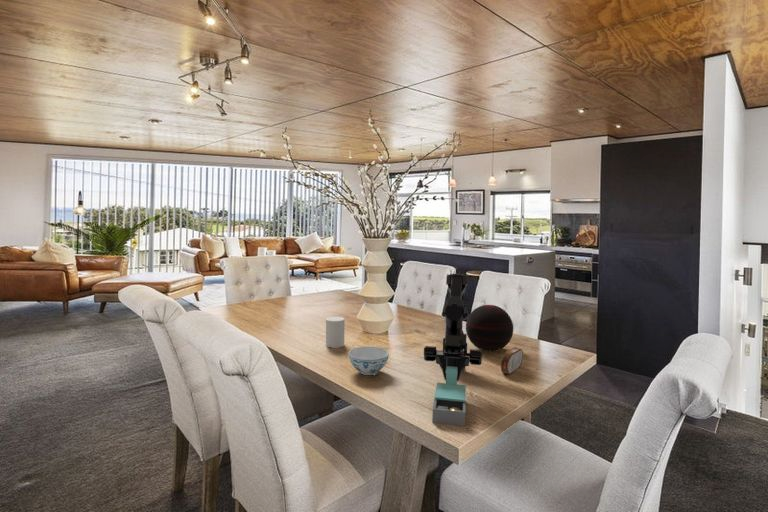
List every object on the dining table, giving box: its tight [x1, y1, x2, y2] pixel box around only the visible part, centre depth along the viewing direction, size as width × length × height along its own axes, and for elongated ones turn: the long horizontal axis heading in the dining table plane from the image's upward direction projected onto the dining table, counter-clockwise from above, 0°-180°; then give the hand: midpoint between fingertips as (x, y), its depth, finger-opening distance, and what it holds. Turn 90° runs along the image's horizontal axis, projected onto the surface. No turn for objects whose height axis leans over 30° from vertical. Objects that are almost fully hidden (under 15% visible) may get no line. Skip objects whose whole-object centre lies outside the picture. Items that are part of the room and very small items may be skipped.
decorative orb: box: [465, 304, 514, 352], centre depth 187 cm, size 20×20×20 cm
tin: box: [500, 346, 524, 375], centre depth 163 cm, size 15×3×8 cm, turn 141°
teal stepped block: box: [434, 366, 467, 403], centre depth 133 cm, size 14×9×10 cm, turn 169°
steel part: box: [437, 406, 448, 410], centre depth 123 cm, size 3×3×3 cm
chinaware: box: [348, 345, 390, 376], centre depth 159 cm, size 15×15×8 cm
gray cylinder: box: [325, 316, 345, 349], centre depth 191 cm, size 8×8×12 cm
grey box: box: [431, 399, 466, 427], centre depth 125 cm, size 10×9×4 cm
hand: (451, 379), depth 137 cm, fingers closed on teal stepped block, 3 cm apart
